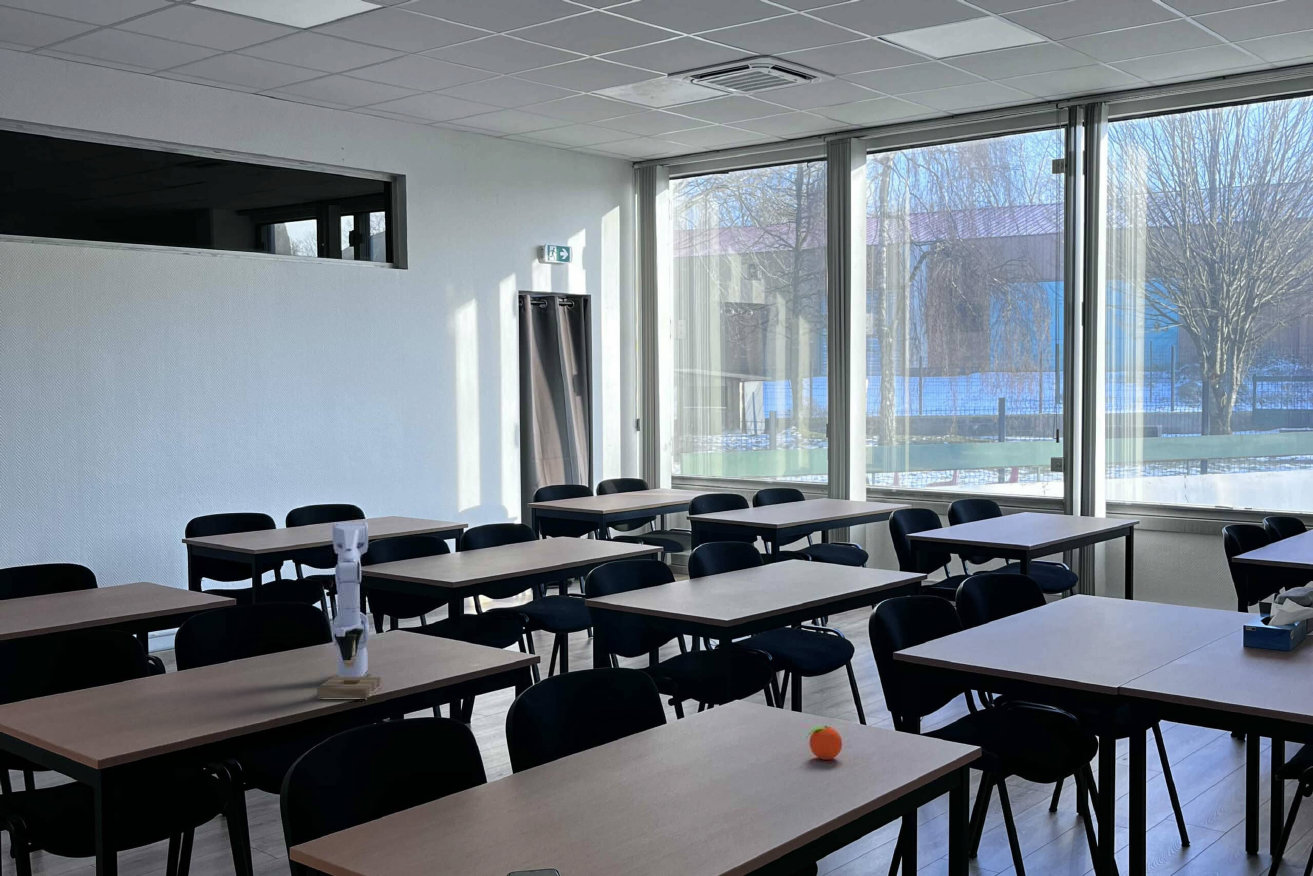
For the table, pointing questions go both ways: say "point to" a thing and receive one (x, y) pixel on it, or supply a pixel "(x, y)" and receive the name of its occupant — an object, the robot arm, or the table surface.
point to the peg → (351, 662)
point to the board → (348, 687)
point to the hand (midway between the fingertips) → (349, 658)
